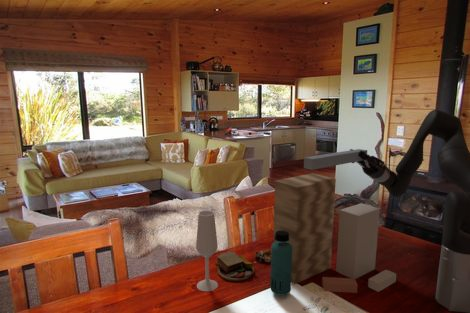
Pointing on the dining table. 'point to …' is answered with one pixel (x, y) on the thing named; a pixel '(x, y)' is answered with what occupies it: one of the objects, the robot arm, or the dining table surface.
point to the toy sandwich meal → (234, 266)
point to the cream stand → (357, 240)
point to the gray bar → (332, 159)
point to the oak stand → (306, 221)
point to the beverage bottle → (281, 264)
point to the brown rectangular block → (339, 284)
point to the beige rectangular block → (382, 280)
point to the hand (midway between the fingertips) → (355, 152)
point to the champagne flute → (206, 245)
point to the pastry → (263, 256)
